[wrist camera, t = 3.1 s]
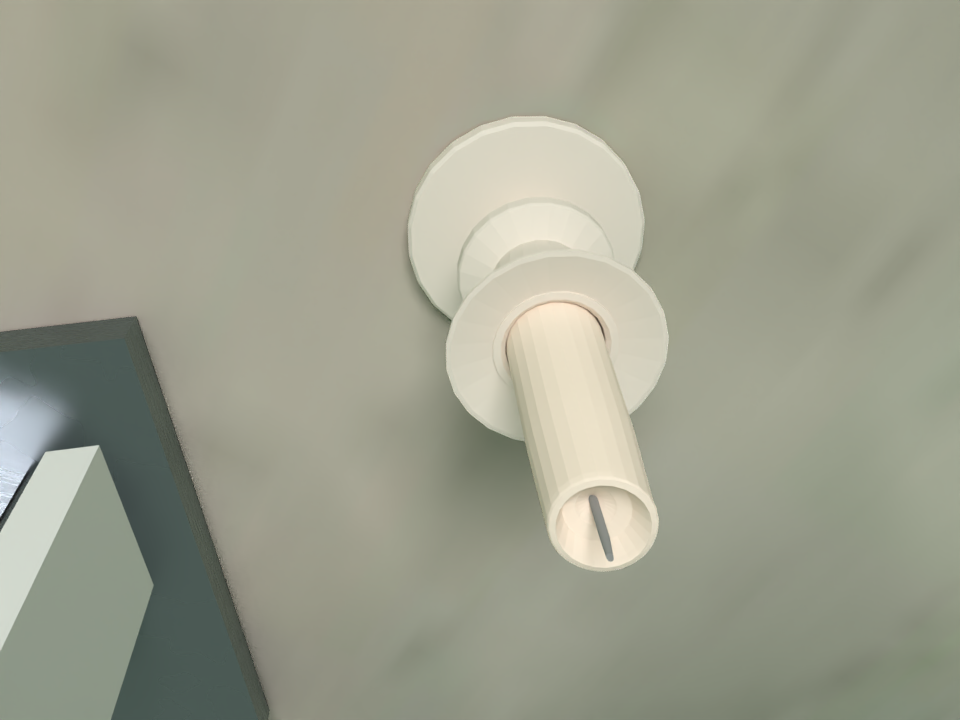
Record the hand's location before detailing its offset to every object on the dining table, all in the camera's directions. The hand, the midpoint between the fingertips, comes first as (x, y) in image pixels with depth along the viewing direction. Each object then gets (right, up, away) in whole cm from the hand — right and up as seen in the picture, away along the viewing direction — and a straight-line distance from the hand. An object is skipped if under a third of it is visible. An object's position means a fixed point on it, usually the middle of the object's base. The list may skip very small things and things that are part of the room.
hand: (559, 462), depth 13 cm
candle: (0, +5, +7) cm, 8 cm away
